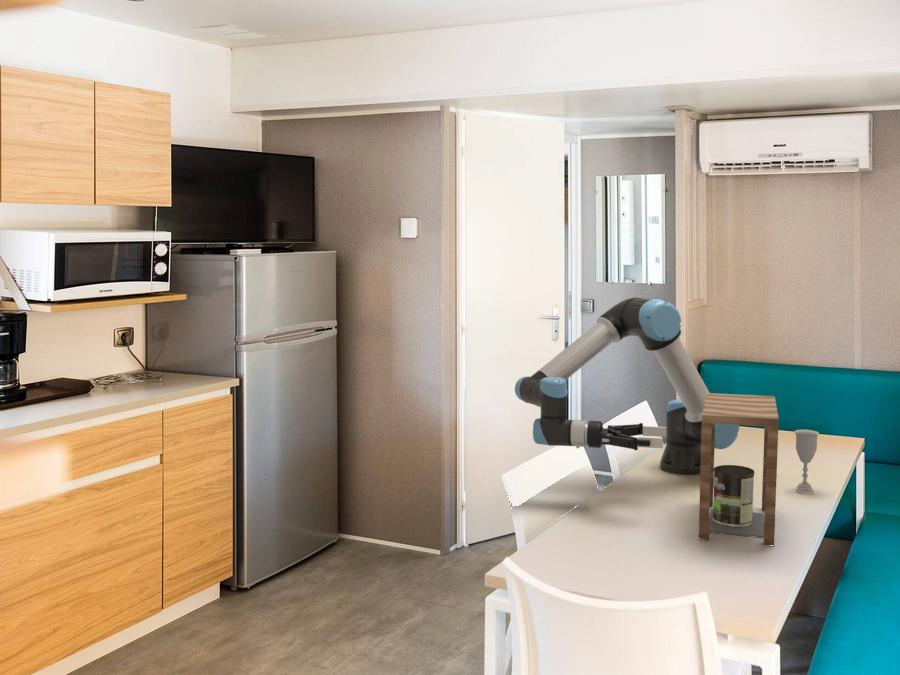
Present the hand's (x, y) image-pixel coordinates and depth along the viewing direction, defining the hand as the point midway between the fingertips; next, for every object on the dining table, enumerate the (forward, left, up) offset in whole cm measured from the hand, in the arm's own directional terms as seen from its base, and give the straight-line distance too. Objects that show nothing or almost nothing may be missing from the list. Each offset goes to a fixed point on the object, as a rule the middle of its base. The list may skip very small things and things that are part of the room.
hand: (664, 437), depth 251 cm
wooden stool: (+6, +20, -21) cm, 29 cm away
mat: (+6, +20, -21) cm, 29 cm away
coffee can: (+6, +19, -21) cm, 28 cm away
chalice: (-31, +39, -21) cm, 54 cm away
